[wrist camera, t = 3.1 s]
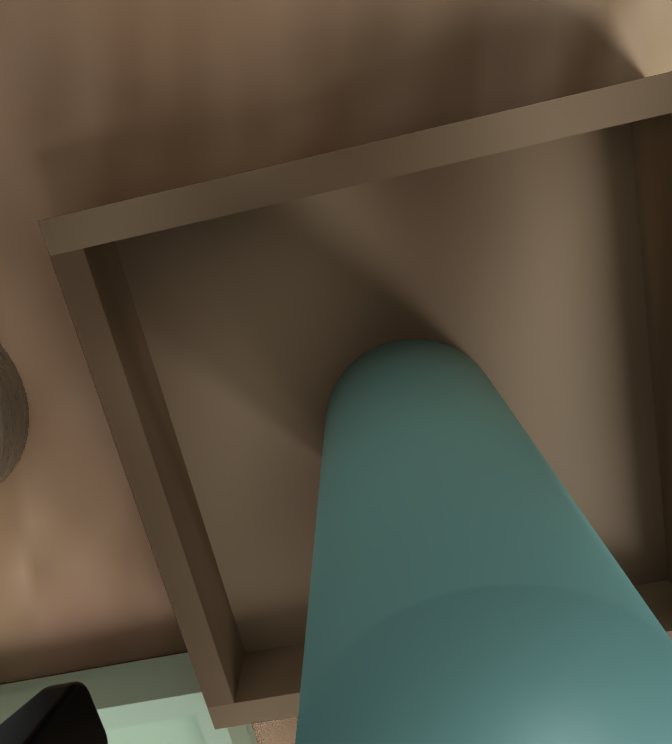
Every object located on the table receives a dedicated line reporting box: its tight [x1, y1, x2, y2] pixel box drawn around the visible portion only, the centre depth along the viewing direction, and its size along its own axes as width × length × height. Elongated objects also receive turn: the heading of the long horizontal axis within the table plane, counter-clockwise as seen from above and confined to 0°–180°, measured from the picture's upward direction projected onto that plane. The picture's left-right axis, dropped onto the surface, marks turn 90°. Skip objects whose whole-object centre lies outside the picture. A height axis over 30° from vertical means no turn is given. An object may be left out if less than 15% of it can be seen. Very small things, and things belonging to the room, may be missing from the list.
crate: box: [38, 71, 672, 729], centre depth 13 cm, size 11×11×2 cm
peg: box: [295, 339, 672, 744], centre depth 9 cm, size 4×4×8 cm
